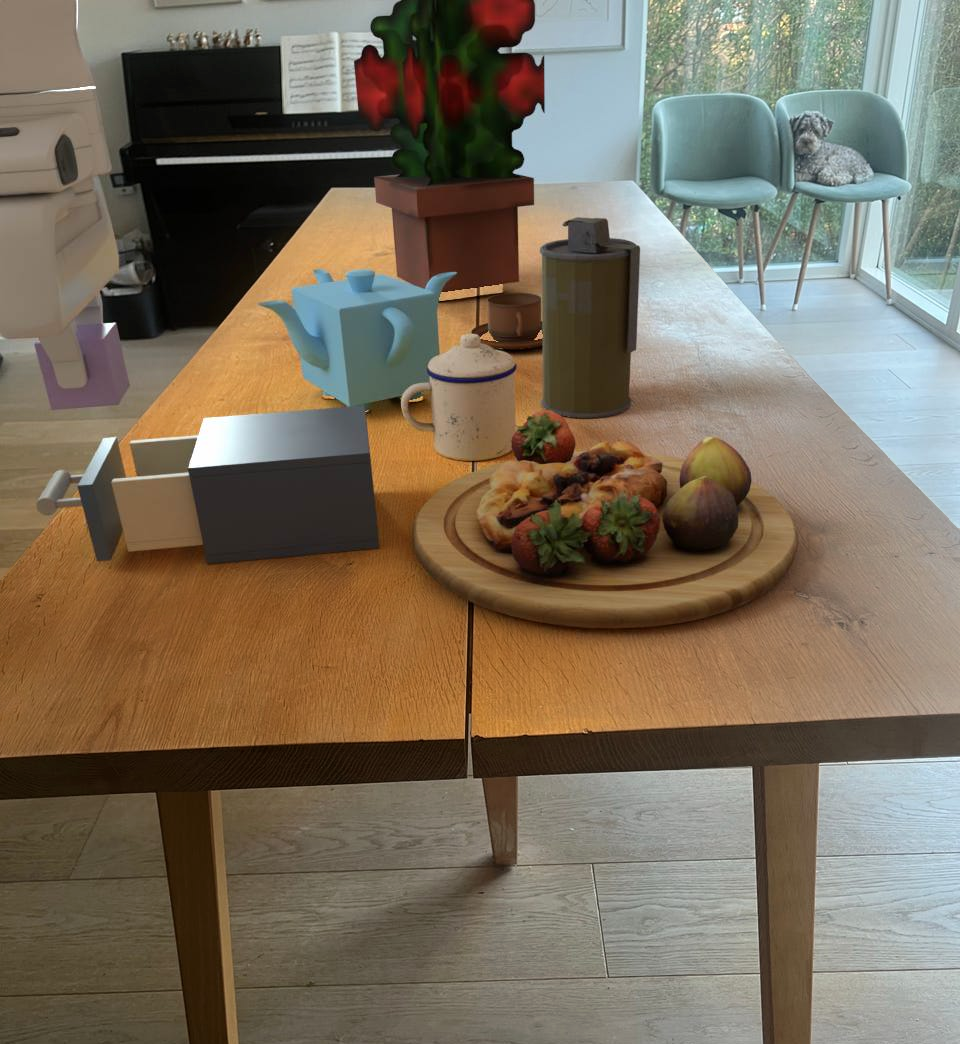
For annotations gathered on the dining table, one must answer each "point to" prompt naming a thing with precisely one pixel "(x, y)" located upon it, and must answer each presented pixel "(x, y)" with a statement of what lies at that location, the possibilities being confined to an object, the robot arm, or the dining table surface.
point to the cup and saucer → (512, 321)
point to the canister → (588, 320)
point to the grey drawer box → (284, 484)
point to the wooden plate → (605, 532)
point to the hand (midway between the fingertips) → (84, 373)
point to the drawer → (133, 496)
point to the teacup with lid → (469, 401)
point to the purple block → (90, 370)
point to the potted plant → (453, 134)
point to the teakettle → (364, 334)
